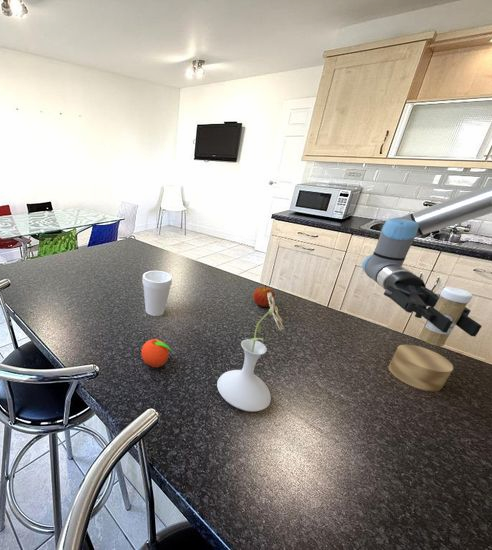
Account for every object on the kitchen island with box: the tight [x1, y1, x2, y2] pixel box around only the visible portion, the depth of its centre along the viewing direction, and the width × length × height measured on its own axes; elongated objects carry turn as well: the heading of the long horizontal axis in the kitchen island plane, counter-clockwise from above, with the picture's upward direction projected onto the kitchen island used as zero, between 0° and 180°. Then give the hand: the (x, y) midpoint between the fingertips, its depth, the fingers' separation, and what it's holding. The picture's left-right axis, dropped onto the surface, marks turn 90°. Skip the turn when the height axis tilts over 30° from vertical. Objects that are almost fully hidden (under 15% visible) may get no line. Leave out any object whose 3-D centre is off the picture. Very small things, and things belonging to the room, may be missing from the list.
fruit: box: [252, 284, 276, 308], centre depth 103 cm, size 7×7×8 cm
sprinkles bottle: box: [418, 286, 473, 347], centre depth 67 cm, size 5×5×13 cm
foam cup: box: [142, 270, 173, 317], centre depth 97 cm, size 10×9×13 cm
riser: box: [388, 344, 454, 392], centre depth 72 cm, size 10×10×6 cm
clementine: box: [140, 338, 174, 368], centre depth 74 cm, size 8×7×7 cm
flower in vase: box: [216, 292, 285, 413], centre depth 62 cm, size 13×11×25 cm
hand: (461, 328), depth 62 cm, fingers closed on sprinkles bottle, 4 cm apart
